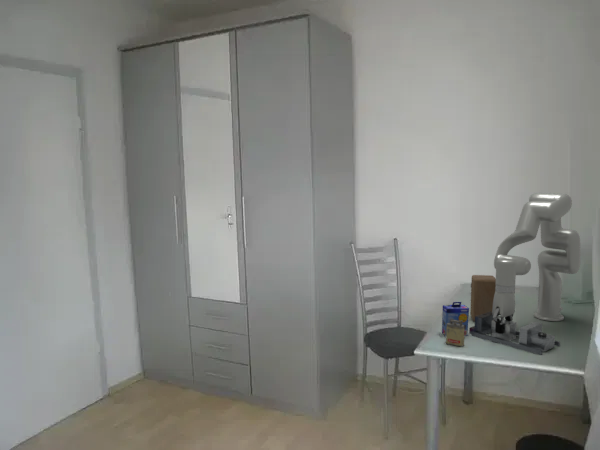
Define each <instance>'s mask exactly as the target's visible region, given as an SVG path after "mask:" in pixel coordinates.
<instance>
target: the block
mask: <svg viewBox="0 0 600 450" xmlns="http://www.w3.org/2000/svg"><path fill="white" fill-rule="evenodd" d="M470 283H471V284H470V291H471V292H470V311H469V314H470V315H469V316H470V317H471V319H472V321H473V322H475V316H478V315H481V314H484V313H487V312H490V311H491V312H492V309H493V300H494V294H495V284H496V276H494V275H489V274H487V275H486V274H472V275H471V282H470Z"/></svg>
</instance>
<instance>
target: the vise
mask: <svg viewBox="0 0 600 450" xmlns="http://www.w3.org/2000/svg"><path fill="white" fill-rule="evenodd" d="M492 320H494V319H493V315H492V312H491V311H490V312H487V313H484V314H481V315H478V316H475V321H474V325H473V326H470V327H468V334H471V336H473V337H475V336H476V338H479V339H482V340H487V341H490V342H494V343H497V344H500V345H504V346H507V347H511V348H514V349H517V350H521V351H525V352H527V353H528V352H529V353H531V354H535V355H539V356H542V355H543V354H544V353H543V352H544V351H543V350H540V349H536V348H533V347H529V346H525V345H522V344H519V342H518V343H517V342H515V341H514V342H513V341H512V340H511V341H507V340H504V339H500V338H496V337H493V336H491V335H489V334H491V326H492ZM519 335H520V330H516V337H519ZM555 346H556V347H560V346H561V342H560V341H558V340H555V343H554V347H555Z"/></svg>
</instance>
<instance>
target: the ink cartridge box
mask: <svg viewBox="0 0 600 450" xmlns="http://www.w3.org/2000/svg"><path fill="white" fill-rule="evenodd" d="M469 314H470V308H469V307H468V306H466V305H465V304H462V301H453V302H452V304H442V314H441V315H442V316H441V317H442V320H441V321H442V322H441V333H442V334H443V335H444V336H445V337H446V330H447V323H450V319H454V320H459V321H461V320H462V321H463V323H462V325H464V328H465V331H464V337H467V335H468V334H469V316H470V315H469ZM452 323H453V322H452ZM457 324H460V323H457Z"/></svg>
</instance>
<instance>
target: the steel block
mask: <svg viewBox="0 0 600 450" xmlns="http://www.w3.org/2000/svg"><path fill="white" fill-rule="evenodd" d="M498 319H500V321H501V318H498ZM503 325H504V326H503V334H499V333H496V332H495V326H496V323H495V321H494V320H492V326H491V333H490V336H493V337H496V338H500V339H504V340H507V341H511V342H512V341H513V340H516V339H517V335H516V331H517V322H516V321H513V320H512V321H508V320H505V319H504V320H503Z"/></svg>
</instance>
